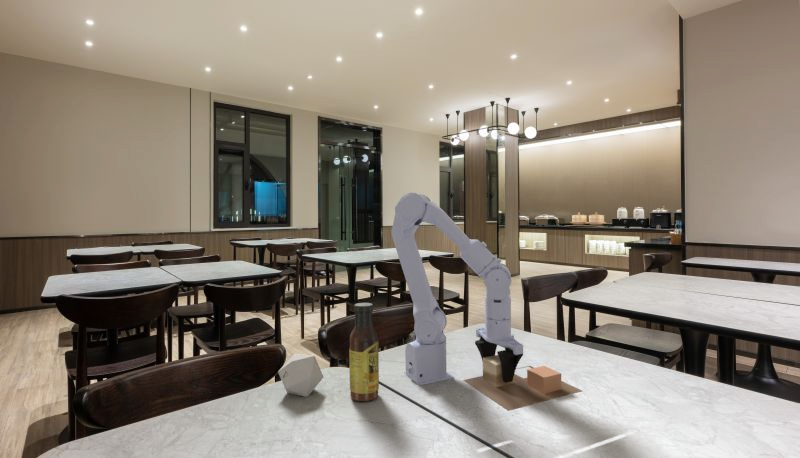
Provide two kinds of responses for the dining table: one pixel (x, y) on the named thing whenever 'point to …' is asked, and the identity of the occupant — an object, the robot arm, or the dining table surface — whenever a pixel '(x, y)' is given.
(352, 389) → the sauce bottle
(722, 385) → the dining table surface
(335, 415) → the dining table surface
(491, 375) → the maple block
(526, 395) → the build board
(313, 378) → the die
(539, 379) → the terracotta base block
